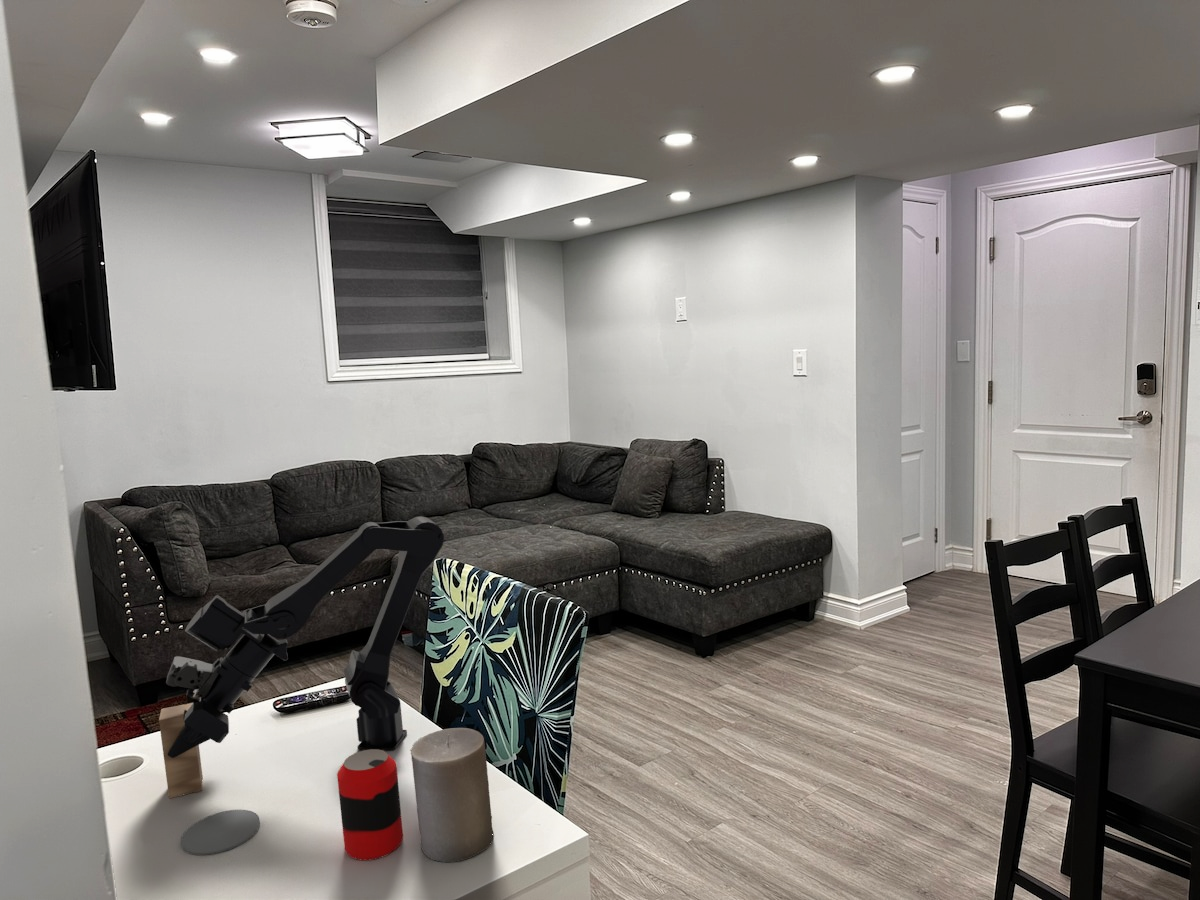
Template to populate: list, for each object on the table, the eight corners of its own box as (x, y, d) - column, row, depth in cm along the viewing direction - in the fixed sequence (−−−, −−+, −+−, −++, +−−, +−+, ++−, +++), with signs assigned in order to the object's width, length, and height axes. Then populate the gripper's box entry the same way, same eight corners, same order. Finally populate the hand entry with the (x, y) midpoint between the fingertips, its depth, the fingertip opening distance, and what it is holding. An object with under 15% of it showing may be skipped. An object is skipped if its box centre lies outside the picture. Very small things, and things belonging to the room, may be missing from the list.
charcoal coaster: (273, 813, 121) (272, 809, 121) (235, 855, 111) (235, 851, 111) (208, 813, 123) (208, 809, 122) (165, 854, 113) (165, 850, 113)
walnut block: (202, 777, 133) (193, 702, 132) (201, 790, 129) (192, 713, 128) (171, 784, 132) (161, 708, 130) (169, 798, 127) (158, 720, 126)
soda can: (372, 867, 107) (364, 779, 106) (332, 851, 111) (323, 766, 110) (415, 837, 113) (407, 752, 112) (375, 822, 117) (367, 741, 116)
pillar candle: (503, 823, 115) (494, 719, 114) (477, 866, 106) (467, 753, 104) (438, 819, 118) (428, 717, 116) (407, 860, 108) (395, 750, 107)
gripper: (199, 621, 138) (131, 700, 135) (193, 657, 121) (116, 748, 118) (256, 658, 142) (191, 735, 139) (258, 697, 125) (185, 787, 122)
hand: (171, 749), depth 129 cm, fingers closed on walnut block, 4 cm apart
